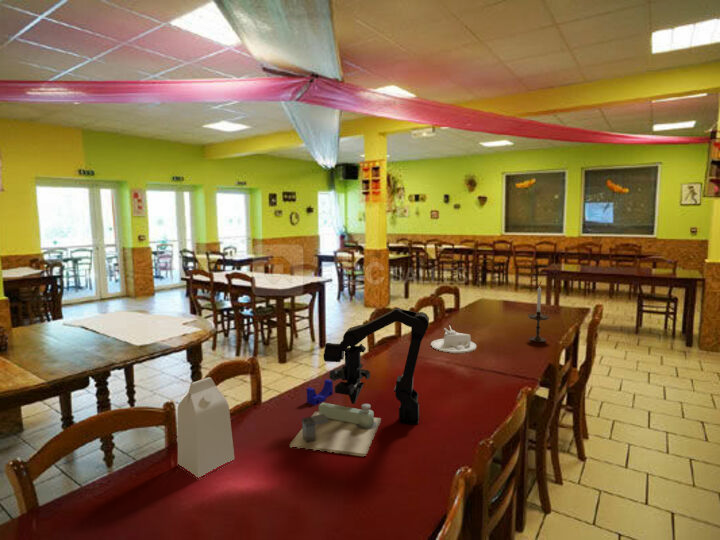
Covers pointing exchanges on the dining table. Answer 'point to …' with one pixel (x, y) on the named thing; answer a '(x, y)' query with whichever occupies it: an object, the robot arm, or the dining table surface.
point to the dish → (454, 342)
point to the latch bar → (348, 414)
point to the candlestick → (538, 318)
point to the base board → (339, 437)
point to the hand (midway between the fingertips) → (353, 403)
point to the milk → (204, 429)
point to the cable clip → (320, 397)
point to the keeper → (312, 426)
